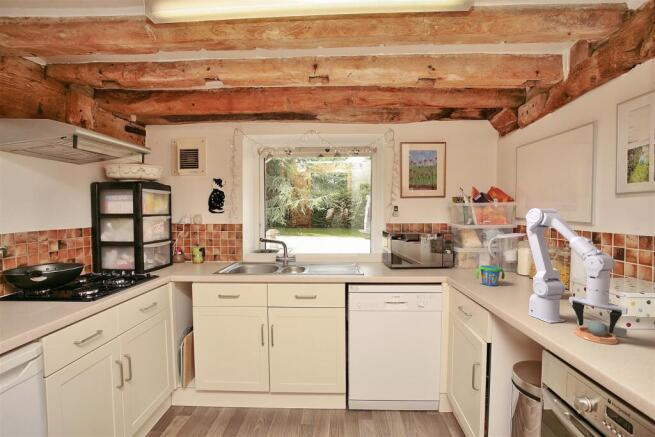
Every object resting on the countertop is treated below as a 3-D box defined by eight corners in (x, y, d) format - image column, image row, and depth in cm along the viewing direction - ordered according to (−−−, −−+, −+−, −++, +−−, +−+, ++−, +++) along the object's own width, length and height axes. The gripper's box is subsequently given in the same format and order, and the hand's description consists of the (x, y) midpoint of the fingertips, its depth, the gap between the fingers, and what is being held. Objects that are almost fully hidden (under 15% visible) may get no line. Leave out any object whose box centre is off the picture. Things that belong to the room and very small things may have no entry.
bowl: (566, 331, 104) (566, 327, 104) (588, 328, 106) (588, 324, 106) (602, 346, 93) (602, 341, 93) (626, 342, 96) (626, 337, 96)
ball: (582, 330, 101) (586, 317, 100) (592, 330, 103) (596, 317, 102) (598, 339, 97) (603, 326, 96) (608, 339, 98) (613, 326, 97)
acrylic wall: (576, 325, 109) (577, 318, 109) (577, 324, 110) (578, 317, 110) (626, 338, 99) (626, 330, 99) (626, 337, 100) (627, 329, 100)
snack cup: (499, 282, 171) (500, 265, 171) (509, 287, 161) (509, 269, 161) (472, 281, 173) (472, 264, 172) (479, 286, 162) (480, 268, 162)
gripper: (630, 292, 96) (627, 333, 96) (573, 282, 107) (572, 319, 108) (626, 296, 91) (623, 338, 92) (568, 285, 103) (566, 323, 104)
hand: (595, 328), depth 100 cm, fingers open, 7 cm apart
